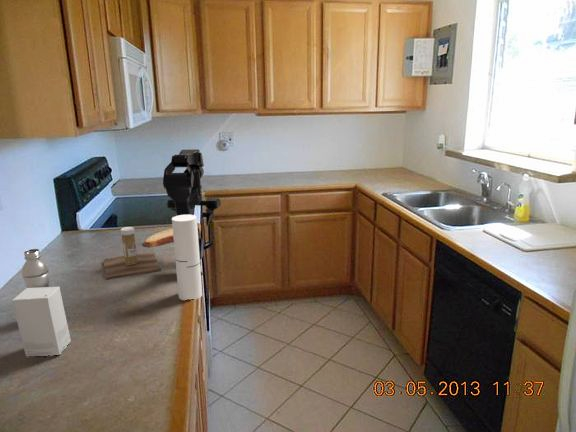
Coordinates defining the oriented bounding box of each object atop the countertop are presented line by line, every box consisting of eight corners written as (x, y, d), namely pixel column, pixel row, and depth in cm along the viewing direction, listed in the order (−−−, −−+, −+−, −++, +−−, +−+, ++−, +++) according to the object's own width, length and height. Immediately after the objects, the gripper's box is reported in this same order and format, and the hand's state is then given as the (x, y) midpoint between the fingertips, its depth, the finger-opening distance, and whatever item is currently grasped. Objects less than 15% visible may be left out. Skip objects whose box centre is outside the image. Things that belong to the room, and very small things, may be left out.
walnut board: (161, 270, 150) (160, 267, 150) (106, 280, 143) (105, 277, 142) (153, 254, 166) (153, 251, 165) (103, 262, 158) (103, 259, 158)
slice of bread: (142, 248, 173) (141, 240, 172) (149, 235, 190) (148, 227, 189) (187, 246, 175) (186, 237, 174) (190, 232, 192) (189, 224, 191)
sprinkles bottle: (135, 265, 152) (131, 230, 148) (123, 266, 151) (118, 230, 148) (139, 261, 156) (135, 226, 152) (127, 261, 156) (122, 226, 152)
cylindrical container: (182, 290, 135) (175, 214, 128) (204, 290, 134) (199, 214, 127) (175, 300, 128) (168, 221, 121) (199, 300, 127) (193, 221, 121)
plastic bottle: (29, 326, 114) (15, 257, 108) (32, 315, 120) (19, 249, 114) (56, 321, 116) (44, 253, 111) (58, 310, 122) (46, 245, 117)
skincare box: (71, 342, 107) (62, 285, 102) (59, 357, 100) (48, 298, 96) (38, 343, 106) (26, 286, 102) (23, 358, 100) (10, 299, 96)
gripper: (158, 188, 147) (163, 231, 151) (211, 189, 145) (213, 232, 149) (171, 182, 157) (174, 222, 162) (220, 182, 155) (222, 223, 160)
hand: (195, 225), depth 158 cm, fingers open, 9 cm apart
